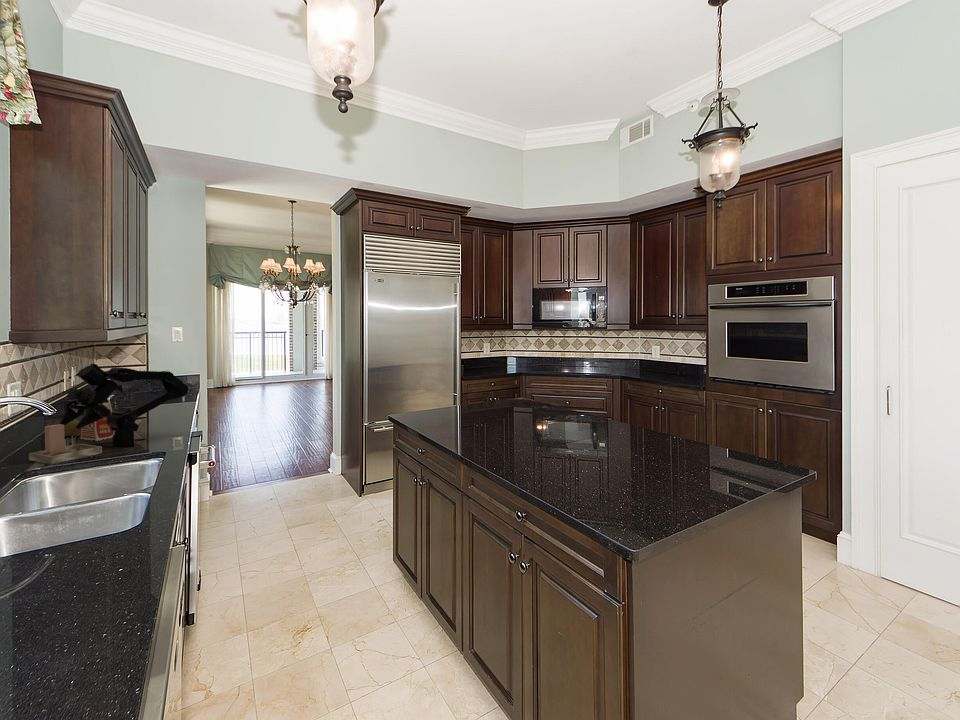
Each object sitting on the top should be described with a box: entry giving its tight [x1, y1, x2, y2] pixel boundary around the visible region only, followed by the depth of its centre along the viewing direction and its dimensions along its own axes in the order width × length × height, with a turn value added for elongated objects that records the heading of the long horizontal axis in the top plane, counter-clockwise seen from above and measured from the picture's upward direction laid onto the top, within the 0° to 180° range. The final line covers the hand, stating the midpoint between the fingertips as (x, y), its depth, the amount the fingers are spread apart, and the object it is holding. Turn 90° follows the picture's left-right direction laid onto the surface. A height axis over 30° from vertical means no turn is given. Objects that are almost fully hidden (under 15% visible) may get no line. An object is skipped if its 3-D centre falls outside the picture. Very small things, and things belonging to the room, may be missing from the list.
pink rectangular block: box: [44, 423, 66, 455], centre depth 166 cm, size 4×2×12 cm, turn 161°
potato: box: [64, 418, 82, 437], centre depth 202 cm, size 7×8×8 cm
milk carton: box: [80, 398, 115, 442], centre depth 201 cm, size 9×9×20 cm
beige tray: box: [28, 443, 103, 465], centre depth 170 cm, size 16×12×3 cm
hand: (68, 427), depth 170 cm, fingers open, 9 cm apart
